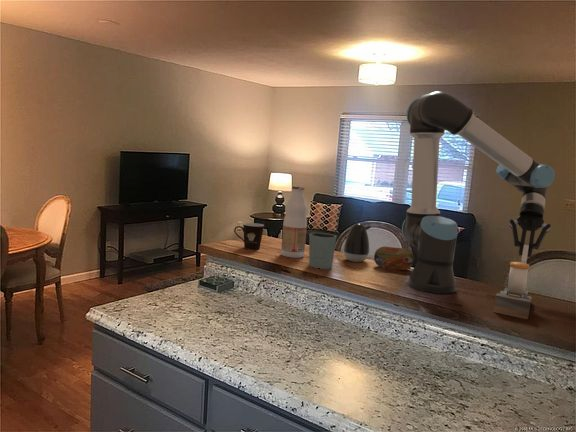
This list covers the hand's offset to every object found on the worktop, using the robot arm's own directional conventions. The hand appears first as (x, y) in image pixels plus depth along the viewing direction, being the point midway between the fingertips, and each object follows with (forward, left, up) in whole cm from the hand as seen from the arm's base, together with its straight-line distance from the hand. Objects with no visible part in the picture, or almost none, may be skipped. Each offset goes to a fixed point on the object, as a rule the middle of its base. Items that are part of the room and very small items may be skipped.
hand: (523, 263), depth 156 cm
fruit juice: (-70, -45, -12) cm, 84 cm away
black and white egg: (-57, -23, -12) cm, 62 cm away
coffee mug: (-87, -56, -12) cm, 104 cm away
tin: (-43, -16, -12) cm, 47 cm away
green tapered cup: (-52, -44, -12) cm, 69 cm away
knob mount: (+6, -13, -12) cm, 18 cm away
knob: (+4, -8, -9) cm, 13 cm away
